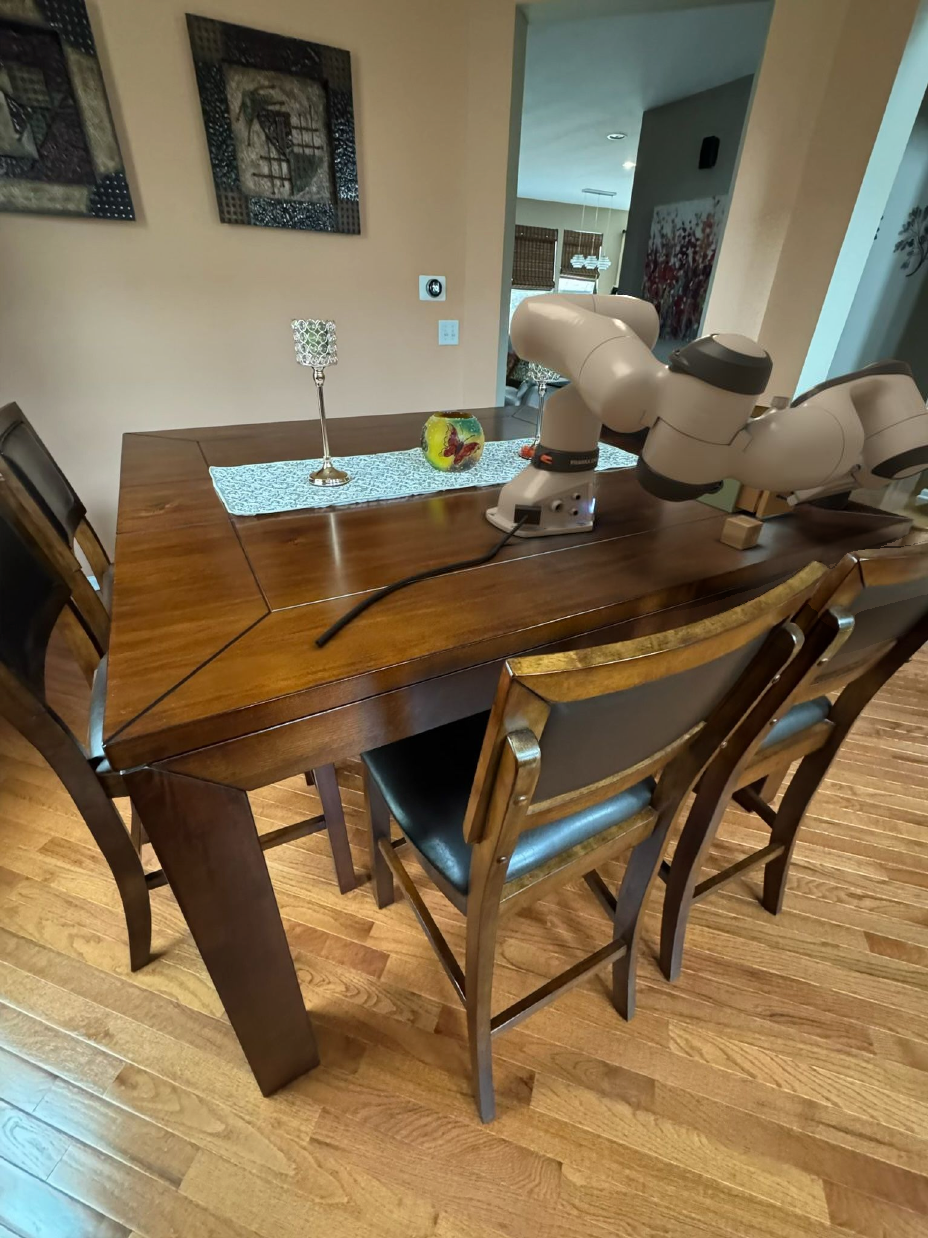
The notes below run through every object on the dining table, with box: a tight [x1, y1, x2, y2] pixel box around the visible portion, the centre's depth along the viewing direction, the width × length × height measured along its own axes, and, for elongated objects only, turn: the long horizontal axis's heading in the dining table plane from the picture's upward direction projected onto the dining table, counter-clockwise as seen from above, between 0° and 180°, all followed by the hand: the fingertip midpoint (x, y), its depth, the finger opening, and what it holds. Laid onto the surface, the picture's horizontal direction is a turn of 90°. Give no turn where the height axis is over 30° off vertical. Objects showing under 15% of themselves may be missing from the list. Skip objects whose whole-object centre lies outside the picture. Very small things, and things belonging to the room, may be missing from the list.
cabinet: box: [694, 478, 745, 514], centre depth 121 cm, size 15×13×10 cm
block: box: [719, 514, 764, 551], centre depth 100 cm, size 4×4×4 cm
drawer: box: [735, 484, 816, 519], centre depth 114 cm, size 18×11×8 cm, turn 30°
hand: (801, 499), depth 108 cm, fingers closed on drawer, 6 cm apart
